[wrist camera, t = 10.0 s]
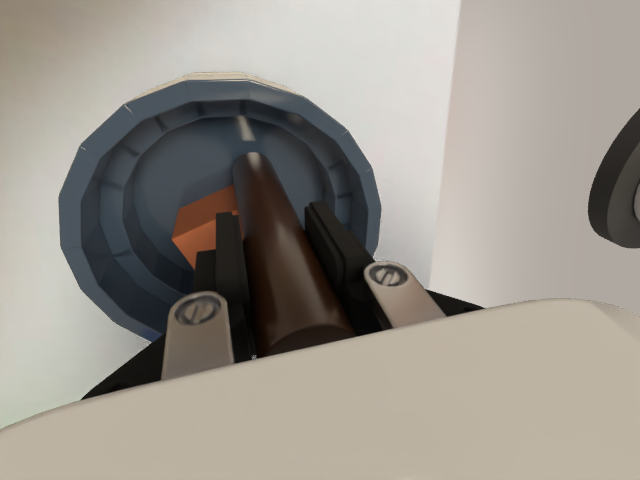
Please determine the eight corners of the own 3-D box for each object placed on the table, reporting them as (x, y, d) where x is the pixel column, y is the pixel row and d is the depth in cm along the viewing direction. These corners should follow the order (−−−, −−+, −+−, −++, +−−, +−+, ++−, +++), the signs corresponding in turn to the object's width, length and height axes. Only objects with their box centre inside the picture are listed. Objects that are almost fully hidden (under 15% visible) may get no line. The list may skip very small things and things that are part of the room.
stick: (272, 150, 19) (364, 315, 7) (275, 189, 20) (358, 384, 8) (229, 153, 18) (252, 338, 6) (235, 193, 19) (264, 409, 8)
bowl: (350, 69, 20) (396, 75, 15) (341, 276, 27) (369, 326, 22) (54, 74, 16) (-19, 84, 11) (142, 310, 24) (122, 378, 19)
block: (236, 182, 21) (240, 207, 17) (263, 231, 23) (271, 262, 19) (178, 208, 20) (170, 239, 17) (211, 255, 23) (210, 290, 19)
